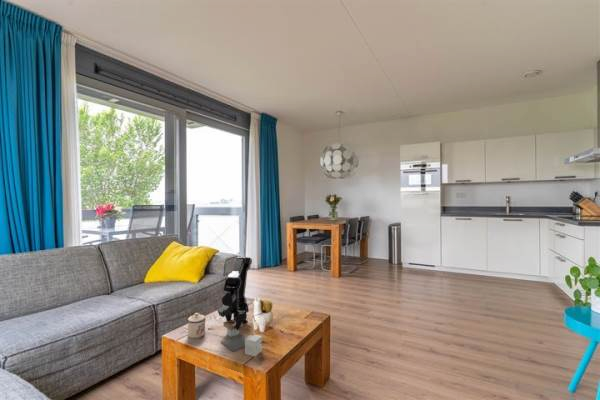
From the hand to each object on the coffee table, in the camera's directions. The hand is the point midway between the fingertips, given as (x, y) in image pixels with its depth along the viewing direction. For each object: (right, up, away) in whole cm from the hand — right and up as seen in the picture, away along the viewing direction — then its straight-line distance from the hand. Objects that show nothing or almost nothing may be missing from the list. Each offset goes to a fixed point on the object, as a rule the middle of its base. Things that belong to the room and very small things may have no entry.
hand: (233, 327), depth 161 cm
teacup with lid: (-19, -3, 0) cm, 19 cm away
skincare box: (+14, -4, -19) cm, 24 cm away
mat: (+5, -4, -11) cm, 12 cm away
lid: (0, +1, 0) cm, 1 cm away
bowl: (0, -3, 0) cm, 3 cm away
